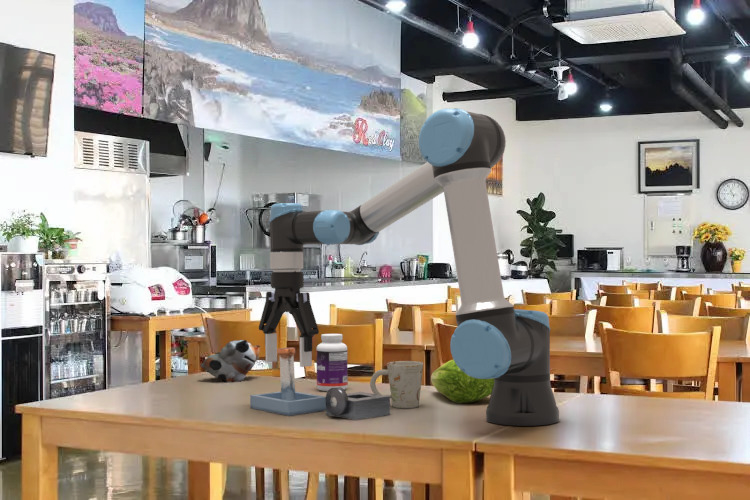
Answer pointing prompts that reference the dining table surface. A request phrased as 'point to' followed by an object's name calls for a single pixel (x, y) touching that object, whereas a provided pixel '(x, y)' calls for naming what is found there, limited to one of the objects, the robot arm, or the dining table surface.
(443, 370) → the lettuce
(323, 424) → the dining table surface
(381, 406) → the block
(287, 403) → the tray
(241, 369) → the lucky cat figurine
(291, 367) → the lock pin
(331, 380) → the pill bottle
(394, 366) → the mug
